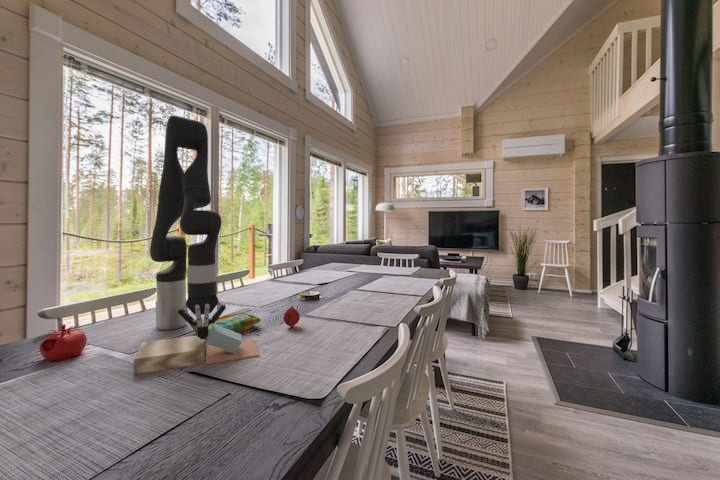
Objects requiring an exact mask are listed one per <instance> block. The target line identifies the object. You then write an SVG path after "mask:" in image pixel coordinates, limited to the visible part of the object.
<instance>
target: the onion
mask: <svg viewBox="0 0 720 480" xmlns="http://www.w3.org/2000/svg"><path fill="white" fill-rule="evenodd" d="M294 307H295V306H294V305H292V306H290V307H289V308H288V309H287V310H286V311H285V312H284V314H283V321H284V323H285V324H286V325H287V326H289V328H293V327H295V326H296V325H297V324H298V323H299V322H300V319H301V318H300V316H301V314H300V312H299V311H298V310H297V309H296V308H294Z"/></svg>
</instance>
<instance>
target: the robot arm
mask: <svg viewBox="0 0 720 480" xmlns="http://www.w3.org/2000/svg"><path fill="white" fill-rule="evenodd" d="M165 126H166V127H165V137H164V138H165V139H164V153H163V154H164V155H163V165H162V172H161V177H160V183H159V184H160V185H159V189H158V198H157V199H158V200H157V209H156V210H157V211H156V216H155V217H156V218H155V223H154V228H153V232H152V234H151V235H152V236H151V241H150V246H149V254H150V255H149V256H150V258H151V260H152V261H153V262H155V263H163V262H164V263H165V262H172V263H171V265H169V266H168V267H167V268H165V269H162V270H160V271H159V272H157V273H156V274H155V275H156V276H155V277H156V284H155V285H156V301H155V326H156V327H157V328H158V330H165V331H166V330H168V331H169V330H176V329H179V328H183V327H185V326H187V324H189V326H190V327H191V326H196V327H197V334H196V336H198V338H200V339H206V337H208V326H209V325H210V324H213V323H215V321H216V320H217V319H218V318H219V317H220V316H222V314H223V313H224V311H225V310H226V309H227V308H226V307H227V306H226V304H225V303H222V302H220V300H219V297H218V295H217V294H218V293H217V291H218V290H217V267H216V246H217V241H218V237H219V233H220V231H221V227H222V223H223V222H222V217H221V215H220V214H219V213H218V212H217V211H216V210H209V209H207V210H206V209H202V210H201V208H205V207H207V206H210V204H211V202H212V197H211V191H210V189H211V188H210V183H209V175H208V174H209V173H208V168H209V166H208V164H209V136H208V130H207V126H206V124H205V123H204V122H202V121H198V120H197V119H196V120H195V119H192V118H187V117H183V116H179V115H175V114H173V115H172V114H171V115H169V117H168V119H167V120H166V125H165ZM179 148H180V149H186V150H191V151H192V150H193V151H195V157H194V159H193V160H192V162H191V163H190V165H189V166H188V167H187V168H186V170H185V171H184V169H183V167H182V165H181V163H180V160H179V157H178V149H179ZM197 209H198V210H197ZM178 220H179V228H180V230H181V231H182V233H184V234H185V235H186V236H187V235H188V236H202V235H203V236H204V235H205V236H206V237H205V239H204V240H203V241H200V242H196V243H192V244H190V245H188V243H187V240H186V238H185V237H184V236H182V235H168V233H169V231H170V230H171V227H172V226H173V225H174V224H175V223H176V222H177V221H178ZM187 245H188V247H187ZM186 276H187V277H186ZM186 280H187V281H186ZM215 308H216V312H214V314H213V315H212V316H211V318H210V314H211V313H212V312H213V311H214V310H215ZM189 310H190V312H191V313H192V314H193V315H195V318H196V319H195V318H193V316H192V315H191V314H189ZM202 315H203V316H204V318H203V317H202ZM202 320H204V325H202Z"/></svg>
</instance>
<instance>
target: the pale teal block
mask: <svg viewBox="0 0 720 480" xmlns="http://www.w3.org/2000/svg"><path fill="white" fill-rule="evenodd" d="M242 340H243V336H242V334H240V332H237V333H236V332H234V331H231V330H229V329H226V328H224V327H221V326H219V325H217V324H213V326H212V327H211V329H210V331H209V333H208V337H206V340H205V344H206V345H207V344H209V345H212V346H215V347H217V348H220V349H223V350H225V351H228V352H231V353H233V354H235V353H236V352H237V350H238V348H239V346H240V345H241V343H242Z"/></svg>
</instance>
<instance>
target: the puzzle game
mask: <svg viewBox="0 0 720 480" xmlns="http://www.w3.org/2000/svg"><path fill="white" fill-rule="evenodd" d="M260 322H261V318H260V317H258V316H255V315H254V314H252V313H249V312H247V311H242V312H237V313H236V312H235V313H232V314H231V313H230V314H226V315H220V316H219V318H218V319H217V320H216V321H215V323H213V324H217V325H219V326H221V327H224V328H226V329H229V330H231V331H234V332H236V333H240V332H244V331H248V330H250V329H251V327H252V326H253V325H256V324H259V323H260ZM213 324H210V325H209V326H208V333H209V331H210V329H211V327H212V326H213ZM202 325H204V319H202ZM190 327H191V329H192V330H193V332H195V334H196V335H197V327H196V326H191V325H190ZM205 341H206V339H205Z"/></svg>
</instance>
